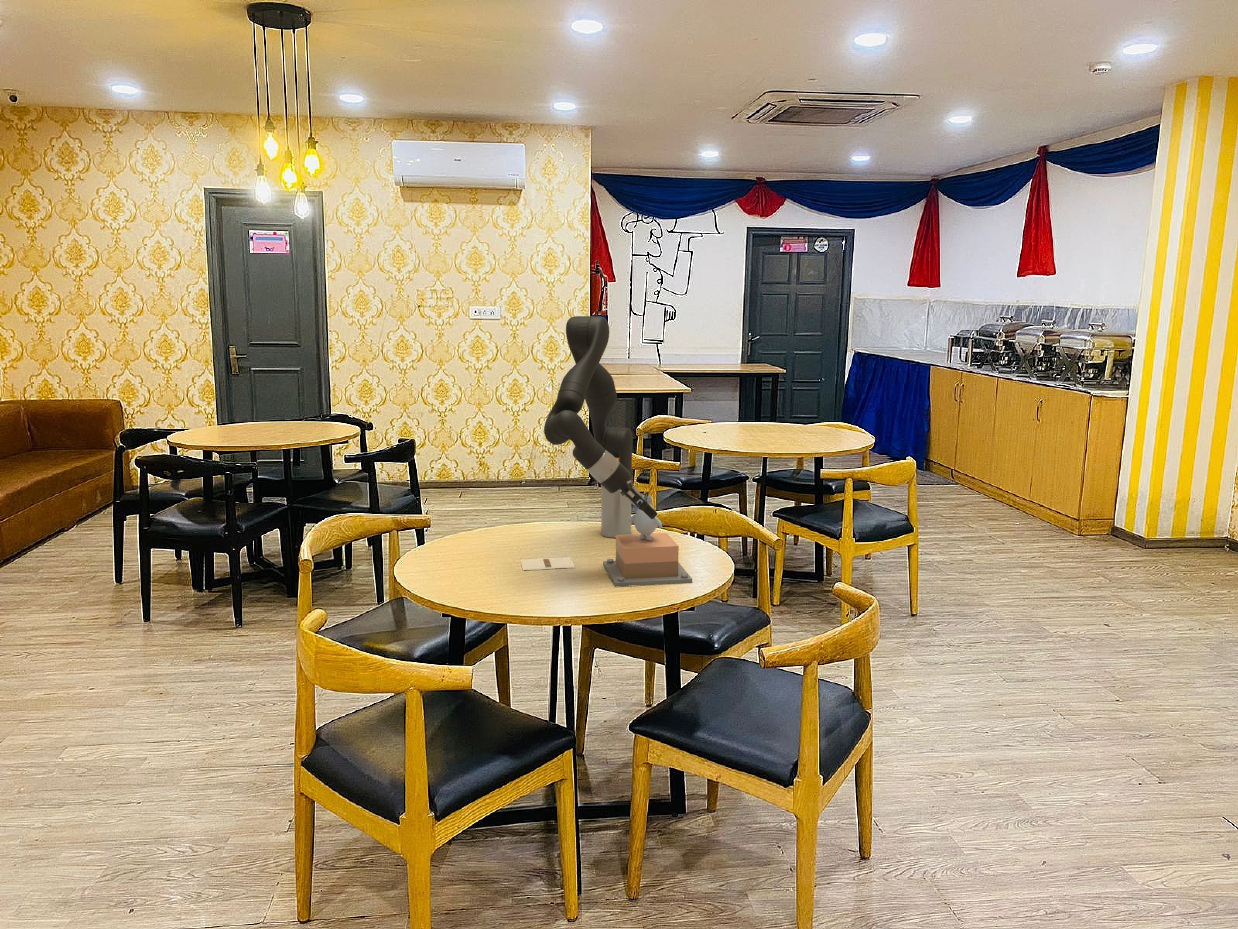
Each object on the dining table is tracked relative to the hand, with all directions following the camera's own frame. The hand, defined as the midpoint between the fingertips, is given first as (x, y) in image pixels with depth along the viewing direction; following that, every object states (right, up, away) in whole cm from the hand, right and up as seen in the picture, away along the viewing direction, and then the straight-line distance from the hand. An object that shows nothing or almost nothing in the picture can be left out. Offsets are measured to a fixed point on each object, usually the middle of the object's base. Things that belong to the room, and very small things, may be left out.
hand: (651, 512), depth 240 cm
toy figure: (-1, -7, +1) cm, 8 cm away
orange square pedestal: (-1, -16, +3) cm, 16 cm away
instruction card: (-28, -15, +11) cm, 34 cm away
